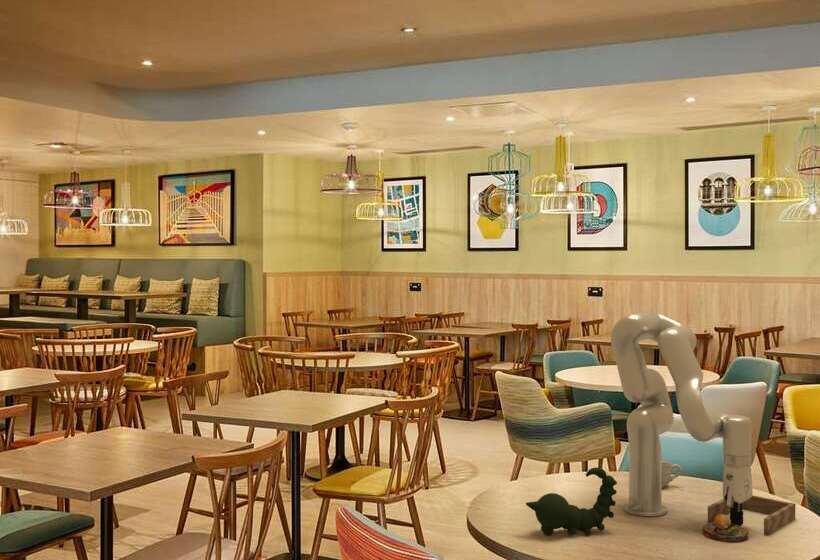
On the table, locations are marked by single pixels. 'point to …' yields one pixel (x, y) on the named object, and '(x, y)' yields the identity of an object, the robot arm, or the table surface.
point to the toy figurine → (575, 509)
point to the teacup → (669, 472)
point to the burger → (725, 530)
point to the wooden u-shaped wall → (760, 511)
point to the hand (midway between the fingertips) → (736, 524)
